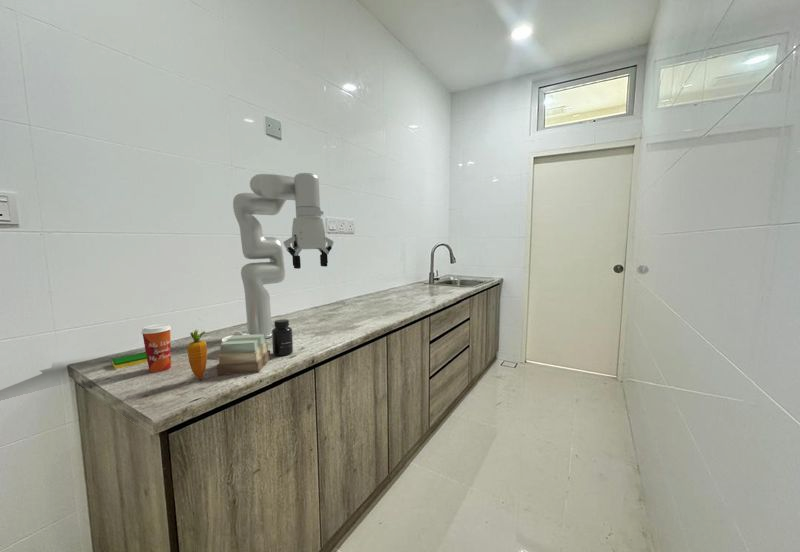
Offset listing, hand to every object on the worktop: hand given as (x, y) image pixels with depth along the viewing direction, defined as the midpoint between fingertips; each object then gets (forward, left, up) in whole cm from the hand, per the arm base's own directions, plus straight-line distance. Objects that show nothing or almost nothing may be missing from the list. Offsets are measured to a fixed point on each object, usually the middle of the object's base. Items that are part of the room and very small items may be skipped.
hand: (311, 267), depth 105 cm
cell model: (-15, -31, -32) cm, 47 cm away
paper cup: (0, -49, -31) cm, 58 cm away
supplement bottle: (-9, -13, -31) cm, 35 cm away
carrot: (+11, -31, -31) cm, 46 cm away
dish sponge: (-9, -61, -32) cm, 69 cm away
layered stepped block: (+2, -22, -31) cm, 38 cm away
